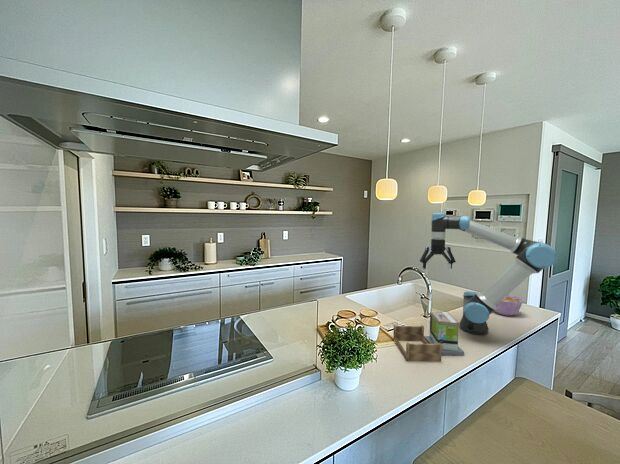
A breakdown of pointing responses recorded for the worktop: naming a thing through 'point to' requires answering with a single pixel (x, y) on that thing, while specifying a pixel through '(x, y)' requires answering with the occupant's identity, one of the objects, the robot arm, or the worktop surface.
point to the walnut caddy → (416, 350)
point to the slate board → (446, 352)
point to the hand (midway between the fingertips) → (437, 274)
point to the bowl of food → (509, 305)
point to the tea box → (444, 330)
